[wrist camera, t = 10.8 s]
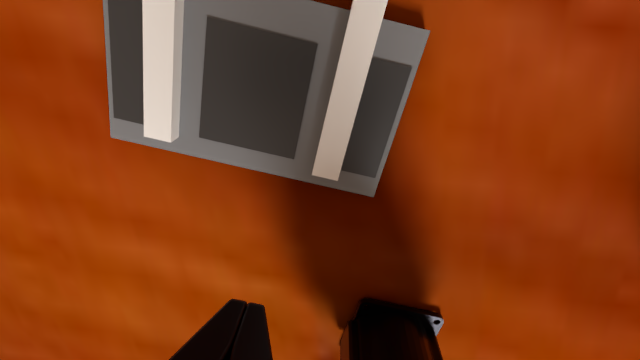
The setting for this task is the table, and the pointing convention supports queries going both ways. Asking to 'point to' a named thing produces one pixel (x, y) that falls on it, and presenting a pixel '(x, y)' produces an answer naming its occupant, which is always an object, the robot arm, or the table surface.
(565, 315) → the table surface
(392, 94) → the grey plate with rails
